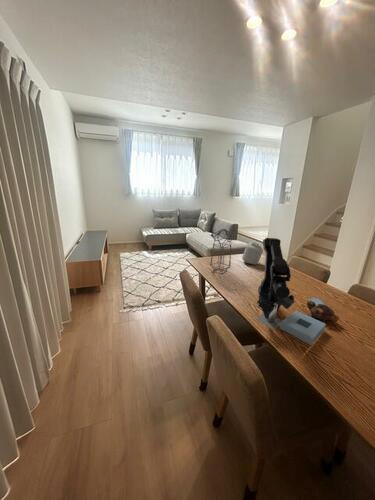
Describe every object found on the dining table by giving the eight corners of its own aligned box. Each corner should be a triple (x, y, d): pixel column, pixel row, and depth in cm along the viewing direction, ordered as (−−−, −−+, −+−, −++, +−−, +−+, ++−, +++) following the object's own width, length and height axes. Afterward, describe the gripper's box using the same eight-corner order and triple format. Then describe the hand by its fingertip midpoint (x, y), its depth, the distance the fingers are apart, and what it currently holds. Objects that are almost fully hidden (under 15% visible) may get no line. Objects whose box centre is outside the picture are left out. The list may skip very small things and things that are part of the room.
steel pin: (264, 320, 105) (267, 303, 102) (268, 317, 107) (271, 300, 104) (272, 324, 102) (275, 306, 99) (276, 321, 104) (279, 303, 101)
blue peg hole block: (279, 329, 99) (281, 322, 98) (294, 316, 109) (295, 310, 107) (310, 346, 89) (312, 338, 87) (324, 331, 98) (326, 324, 97)
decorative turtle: (305, 308, 116) (309, 296, 114) (336, 321, 108) (342, 308, 105) (301, 315, 109) (306, 302, 107) (335, 330, 100) (341, 316, 98)
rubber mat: (256, 320, 105) (256, 319, 105) (266, 313, 111) (266, 312, 111) (274, 330, 98) (274, 329, 98) (284, 322, 104) (284, 321, 104)
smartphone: (318, 311, 114) (308, 297, 128) (318, 312, 114) (307, 298, 128) (333, 312, 113) (320, 298, 127) (332, 314, 113) (320, 299, 127)
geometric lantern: (206, 270, 166) (209, 228, 156) (218, 266, 176) (222, 226, 167) (221, 276, 155) (225, 231, 145) (233, 272, 165) (238, 229, 156)
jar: (261, 261, 191) (265, 235, 184) (264, 267, 177) (268, 239, 170) (241, 259, 194) (244, 233, 187) (242, 265, 180) (245, 237, 173)
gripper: (283, 300, 87) (277, 331, 92) (301, 288, 99) (295, 316, 103) (260, 290, 95) (255, 319, 100) (279, 280, 107) (274, 306, 111)
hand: (271, 315), depth 103 cm, fingers open, 9 cm apart
